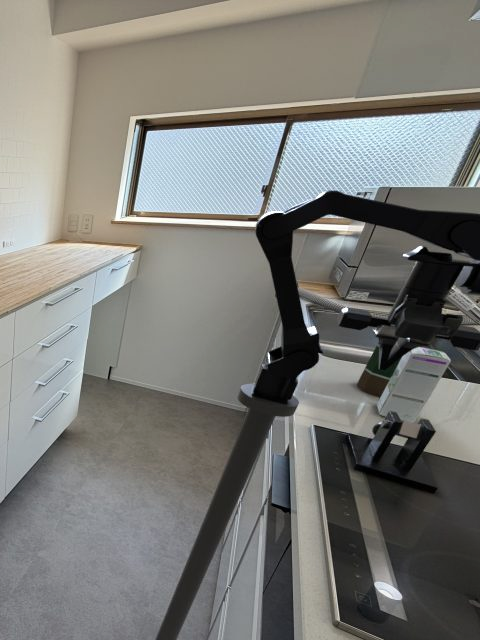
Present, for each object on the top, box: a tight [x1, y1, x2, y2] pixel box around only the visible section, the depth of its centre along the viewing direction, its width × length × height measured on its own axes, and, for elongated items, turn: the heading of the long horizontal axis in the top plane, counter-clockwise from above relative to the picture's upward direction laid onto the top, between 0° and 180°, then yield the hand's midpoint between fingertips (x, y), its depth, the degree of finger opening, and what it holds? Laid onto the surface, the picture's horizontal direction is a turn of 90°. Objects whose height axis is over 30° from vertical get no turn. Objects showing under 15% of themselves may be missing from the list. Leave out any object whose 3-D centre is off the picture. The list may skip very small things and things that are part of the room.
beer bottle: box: [356, 335, 427, 398], centre depth 93 cm, size 8×8×24 cm
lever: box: [371, 420, 421, 439], centre depth 73 cm, size 12×3×3 cm, turn 147°
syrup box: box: [376, 347, 452, 423], centre depth 85 cm, size 6×6×14 cm
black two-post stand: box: [344, 411, 439, 494], centre depth 70 cm, size 12×10×9 cm
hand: (381, 369), depth 79 cm, fingers closed
